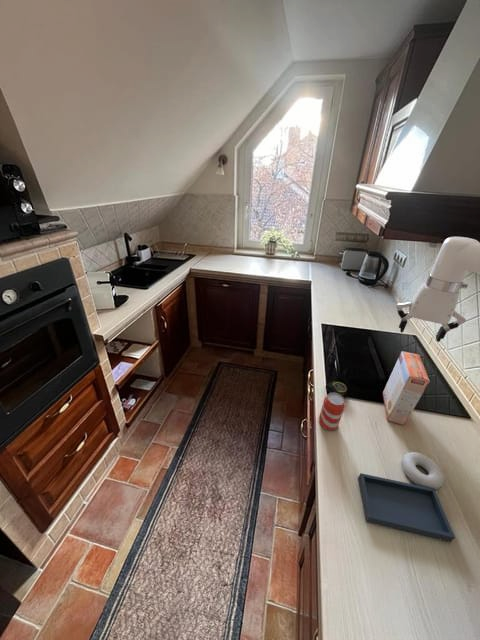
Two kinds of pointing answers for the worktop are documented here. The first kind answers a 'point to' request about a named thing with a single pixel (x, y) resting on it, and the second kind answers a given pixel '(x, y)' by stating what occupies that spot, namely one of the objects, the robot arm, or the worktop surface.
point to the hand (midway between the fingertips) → (418, 334)
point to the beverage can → (331, 411)
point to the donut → (434, 472)
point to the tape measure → (337, 388)
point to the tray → (404, 507)
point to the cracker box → (404, 387)
